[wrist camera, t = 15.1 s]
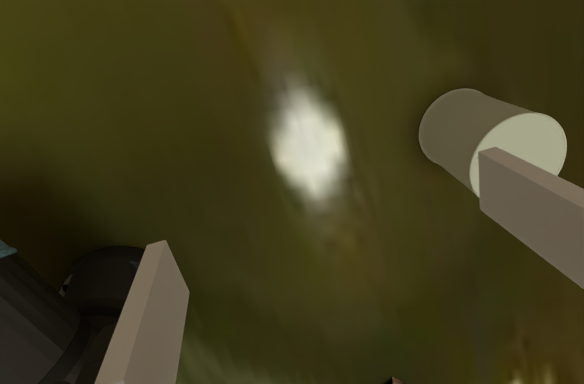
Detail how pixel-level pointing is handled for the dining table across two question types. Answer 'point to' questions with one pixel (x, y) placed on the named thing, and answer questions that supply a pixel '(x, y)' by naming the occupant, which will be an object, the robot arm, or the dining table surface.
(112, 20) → the dining table surface
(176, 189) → the dining table surface
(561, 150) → the can
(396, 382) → the bird sculpture
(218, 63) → the dining table surface
